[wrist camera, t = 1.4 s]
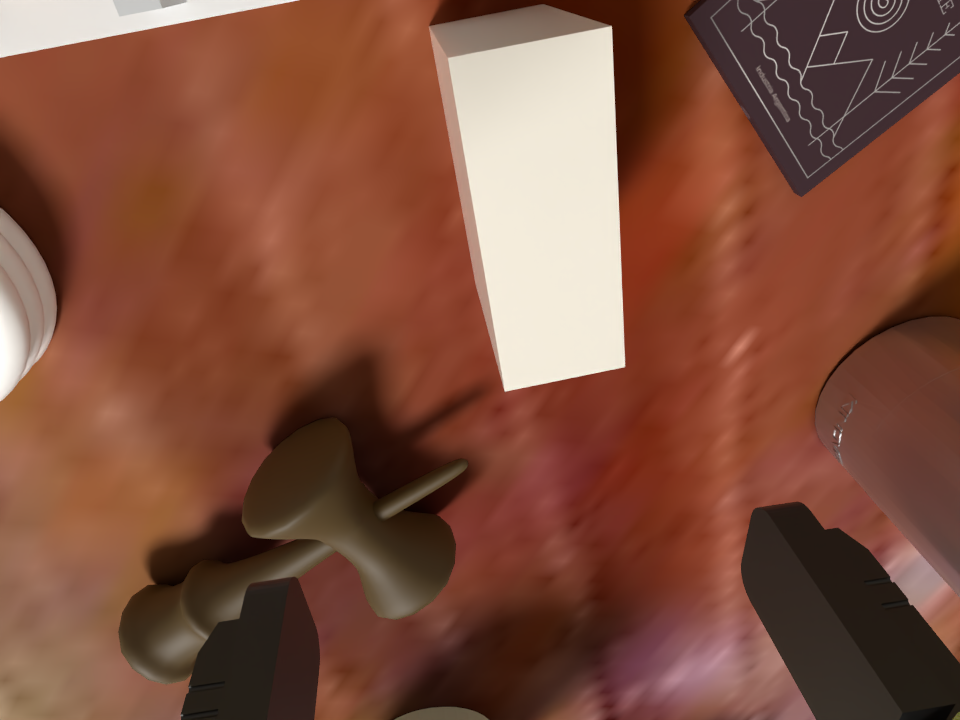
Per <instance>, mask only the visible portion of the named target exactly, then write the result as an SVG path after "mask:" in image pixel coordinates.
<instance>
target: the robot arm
mask: <svg viewBox="0 0 960 720" xmlns="http://www.w3.org/2000/svg"><path fill="white" fill-rule="evenodd" d="M815 426H816V430H817V434H818V437H819V438H820V440H821V441H822V443H823V444H824V446H825V447H826V448H827V449H828V450H829V451H830V452H831V453H832V455H833V456H834V457H835V458H836V459H837V460H838V462H839V463H840V464H841V465H842V466H843V467H844V468H845V469H846V470H847V471H848V473H849V474H850V475H851V476H852V477H853V478H854V479H855V480H856V482H857V483H858V484H859V485H860V486H861V487H862V488H863V489H864V491H865V492H866V493H867V494H868V495H869V497H870V498H871V499H872V500H873V501H874V502H875V503H876V504H877V506H878V507H879V508H880V509H881V510H882V511H883V512H884V513H885V514H886V516H887V517H888V518H889V519H890V520H891V521H892V522H893V523H894V525H895V526H896V527H897V528H898V529H899V530H900V531H901V532H902V534H903V535H904V536H905V537H906V538H907V539H908V540H909V541H910V542H911V544H912V545H913V546H914V547H915V548H916V549H917V550H918V551H919V553H920V554H921V555H922V556H923V557H924V558H925V559H926V560H927V562H928V563H929V564H930V565H931V566H932V567H933V568H934V569H935V570H936V572H937V573H938V574H939V575H940V576H941V577H942V578H943V579H944V581H945V582H946V583H947V584H948V585H949V586H950V587H951V588H952V589H953V591H954V592H955V593H956V594H957V595H958V596H959V597H960V319H956V318H952V317H926V318H921V319H916V320H911V321H908V322H905V323H903V324H900V325H897V326H895V327H892V328H890V329H888V330H886V331H884V332H882V333H881V334H879V335H877V336H875V337H873V338H872V339H870V340H869V341H867V342H866V343H865V344H863V345H862V346H861V347H859V348H858V349H856V350H855V351H854V352H853V353H852V354H851V355H850V356H849V357H848V358H847V359H846V360H845V361H844V362H843V363H841V364H840V366H839V367H838V368H837V369H836V371H835V372H834V373H833V375H832V376H831V377H830V379H829V380H828V381H827V383H826V385H825V387H824V389H823V391H822V393H821V395H820V397H819V400H818V404H817V407H816V411H815ZM741 573H742V579H743V584H744V587H745V590H746V593H747V595H748V597H749V599H750V601H751V603H752V605H753V607H754V609H755V610H756V612H757V614H758V616H759V618H760V619H761V621H762V623H763V625H764V627H765V628H766V630H767V632H768V634H769V636H770V637H771V639H772V641H773V643H774V644H775V646H776V648H777V650H778V652H779V653H780V655H781V657H782V659H783V661H784V662H785V664H786V666H787V668H788V670H789V671H790V673H791V675H792V677H793V679H794V680H795V682H796V684H797V686H798V688H799V689H800V691H801V693H802V695H803V697H804V698H805V700H806V702H807V704H808V706H809V707H810V709H811V711H812V713H813V715H814V716H815V718H816V720H960V663H959V662H958V661H957V659H956V658H955V657H954V656H953V655H952V653H951V652H950V651H949V650H948V648H947V647H946V646H945V645H944V643H943V642H942V641H941V640H940V638H939V637H938V636H937V635H936V633H935V632H934V631H933V630H932V628H931V627H930V626H929V625H928V623H927V622H926V621H925V620H924V618H923V617H922V616H921V615H920V613H919V612H918V611H917V610H916V608H915V607H914V606H913V605H910V604H909V602H908V598H907V597H906V596H905V595H904V593H903V592H902V591H901V590H900V589H899V587H898V586H897V585H896V584H895V582H893V583H892V582H891V580H890V576H889V575H888V574H887V572H886V571H885V570H884V569H883V567H882V566H881V565H880V564H879V562H878V561H877V560H876V559H875V557H874V556H873V555H872V554H871V552H870V551H869V550H868V549H867V548H865V547H864V546H863V545H861V544H860V543H858V542H857V541H856V540H854V539H853V538H851V537H850V536H849V535H847V534H846V533H844V532H843V531H842V530H840V529H839V528H833V529H827V530H824V528H823V527H822V526H821V524H820V523H819V522H818V520H817V519H816V518H815V516H814V515H813V514H812V512H811V511H810V510H809V509H808V507H806V506H805V505H804V504H802V503H800V502H792V503H785V504H778V505H772V506H765V507H759V508H755V509H754V510H753V512H752V515H751V520H750V524H749V529H748V534H747V539H746V543H745V548H744V553H743V557H742V563H741ZM319 665H320V649H319V639H318V633H317V629H316V626H315V623H314V621H313V618H312V615H311V613H310V610H309V607H308V605H307V602H306V599H305V597H304V594H303V591H302V589H301V586H300V583H299V581H298V579H297V578H296V577H288V578H281V579H275V580H268V581H262V582H255V583H251V584H250V585H249V586H248V587H247V589H246V592H245V596H244V600H243V604H242V609H241V613H240V618H239V619H235V620H228V621H222V622H218V624H217V625H216V627H215V628H214V630H213V631H212V633H211V634H210V636H209V637H208V639H207V640H206V642H205V643H204V645H203V646H202V648H201V649H200V651H199V652H198V654H197V658H196V662H195V665H194V669H193V672H192V676H191V680H190V683H189V693H188V694H186V698H185V701H184V705H183V709H182V712H181V720H314V715H315V706H316V696H317V686H318V676H319Z"/></svg>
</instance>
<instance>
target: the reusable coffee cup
mask: <svg viewBox="0 0 960 720" xmlns="http://www.w3.org/2000/svg"><path fill="white" fill-rule="evenodd" d="M394 720H488V719H487V718H486V717H485V716H484V715H482V714H480V713H478V712H476V711H472V710H469V709H465V708H459V707H433V708H427V709H421V710H417V711H414V712H411V713H407V714H405V715H403V716H400V717H398V718H396V719H394Z"/></svg>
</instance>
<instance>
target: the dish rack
mask: <svg viewBox="0 0 960 720" xmlns="http://www.w3.org/2000/svg"><path fill="white" fill-rule="evenodd" d="M292 1H297V0H0V57H5V56H11V55H16V54H21V53H26V52H31V51H37V50H42V49H47V48H52V47H57V46H63V45H68V44H73V43H78V42H84V41H89V40H94V39H99V38H104V37H110V36H115V35H120V34H125V33H130V32H136V31H141V30H146V29H151V28H156V27H162V26H167V25H172V24H177V23H182V22H188V21H193V20H198V19H203V18H208V17H214V16H219V15H224V14H229V13H234V12H240V11H245V10H250V9H255V8H260V7H266V6H271V5H276V4H281V3H286V2H292Z"/></svg>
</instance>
